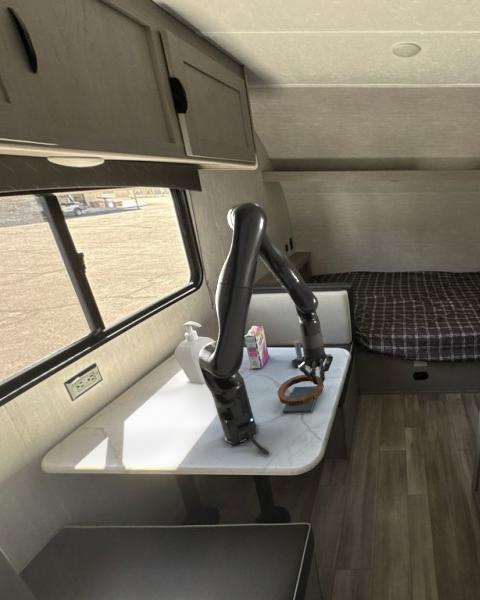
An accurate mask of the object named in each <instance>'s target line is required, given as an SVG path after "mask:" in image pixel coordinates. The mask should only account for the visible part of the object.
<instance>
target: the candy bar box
mask: <svg viewBox="0 0 480 600" xmlns="http://www.w3.org/2000/svg"><path fill="white" fill-rule="evenodd" d="M244 344H245V347H246V351H247V352H246V353H247V356H248V360H249V361H248V362H249V365H250V369H251V370H255V369H256V370H257V369H259V370H260V369H263V367H264V365H265V363H266V361H267V359H268V358H269V350H268V345H267V339H266V335H265V329H264V325H263V324H262V325H252V326H251V327H250V328H249V330H248V331H247V332H246V333H245V337H244Z"/></svg>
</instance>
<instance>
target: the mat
mask: <svg viewBox="0 0 480 600" xmlns="http://www.w3.org/2000/svg"><path fill="white" fill-rule="evenodd" d="M316 387H317V385H312V386H294V388H293V390H292V392H291V394H290V396H289V397H291V398H296V397H303V396H305V395H308V394H310V393H311V392H313V391H314V390H315V389H316ZM313 400H314V399H313ZM316 400H317V398H316V399H315V400H314V401H311V402H309V403H307V404H304V405H303V404H302V405H299V406H291V405H290V406H288V405H285V407H284V408H283V410H282V412H283V414H293V413H295V414H297V413H312V410H313V408H314V407H315V403H316Z"/></svg>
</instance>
